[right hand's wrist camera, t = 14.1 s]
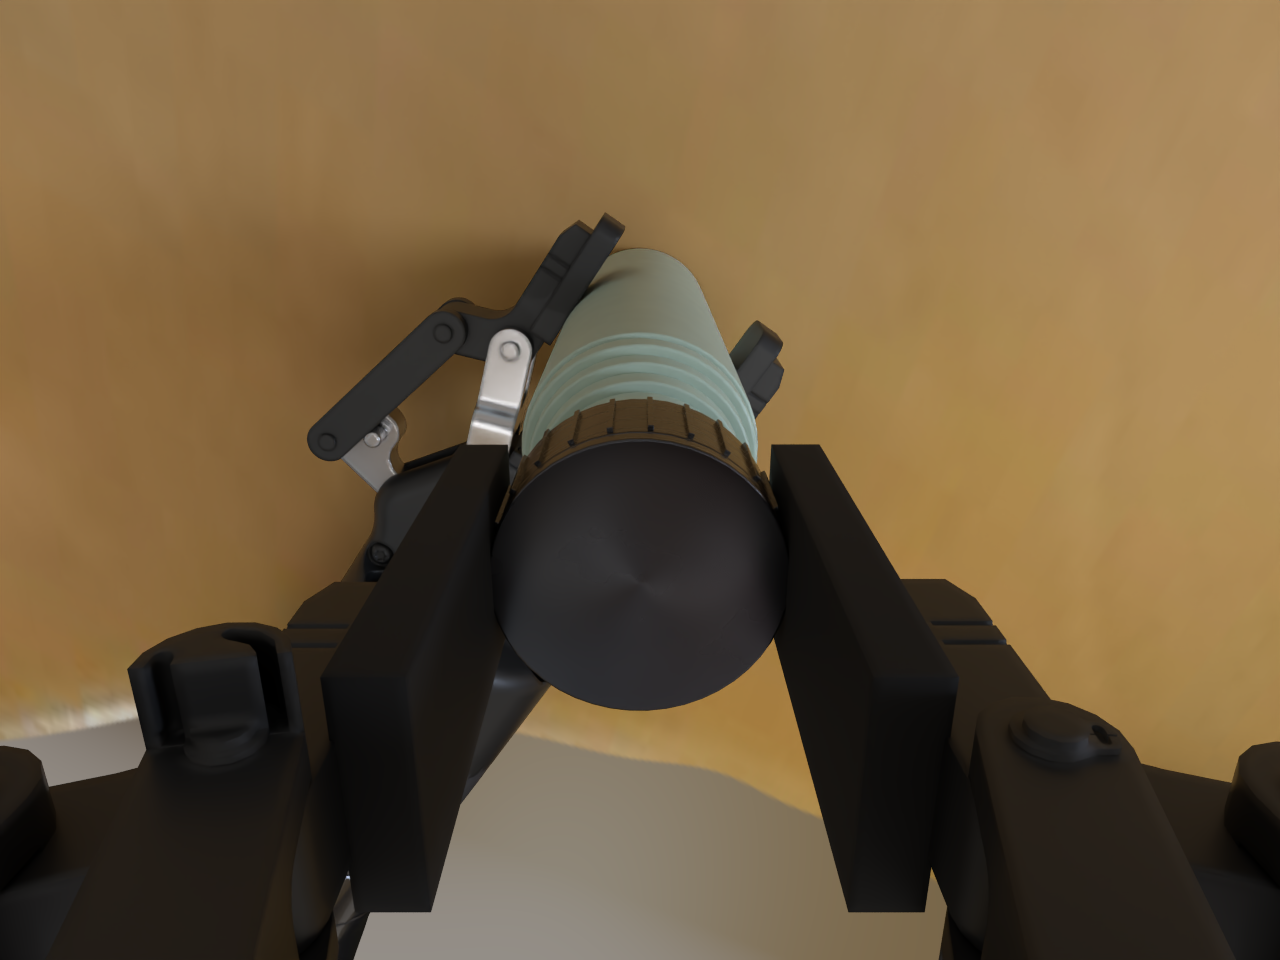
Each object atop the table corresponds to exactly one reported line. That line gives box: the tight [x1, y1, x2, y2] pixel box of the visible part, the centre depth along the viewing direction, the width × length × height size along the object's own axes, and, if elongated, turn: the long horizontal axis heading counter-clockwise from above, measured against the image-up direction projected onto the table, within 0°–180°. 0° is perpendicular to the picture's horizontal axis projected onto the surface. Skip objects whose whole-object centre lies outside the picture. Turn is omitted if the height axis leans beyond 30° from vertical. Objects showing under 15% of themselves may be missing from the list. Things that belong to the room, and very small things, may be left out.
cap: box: [490, 397, 789, 711], centre depth 13 cm, size 4×4×2 cm
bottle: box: [522, 248, 758, 464], centre depth 22 cm, size 5×5×20 cm
